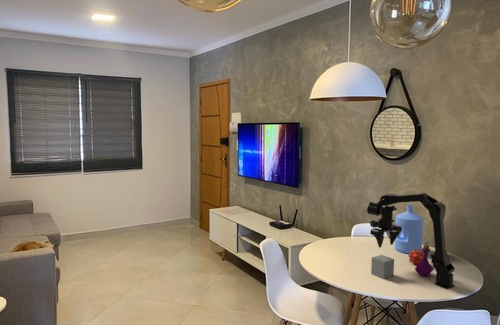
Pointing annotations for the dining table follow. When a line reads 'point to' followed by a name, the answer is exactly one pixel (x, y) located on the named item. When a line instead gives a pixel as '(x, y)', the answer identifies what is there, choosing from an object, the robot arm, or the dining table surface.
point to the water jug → (409, 231)
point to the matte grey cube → (382, 266)
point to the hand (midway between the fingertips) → (385, 245)
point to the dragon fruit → (415, 257)
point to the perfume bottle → (424, 262)
